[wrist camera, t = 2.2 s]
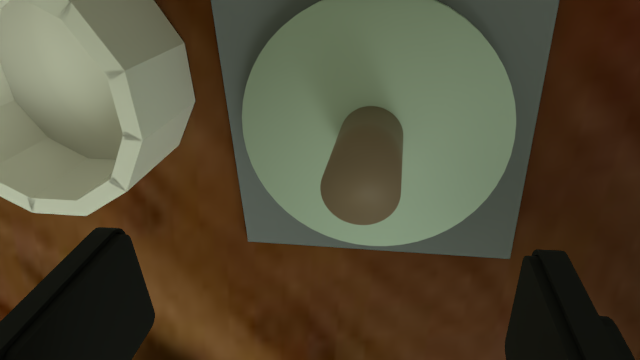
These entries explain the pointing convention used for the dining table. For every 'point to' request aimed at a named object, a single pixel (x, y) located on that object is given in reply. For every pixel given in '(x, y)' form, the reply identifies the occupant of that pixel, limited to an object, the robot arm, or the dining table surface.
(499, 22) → the mat
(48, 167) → the bowl
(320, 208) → the lid
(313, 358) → the dining table surface
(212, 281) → the dining table surface
